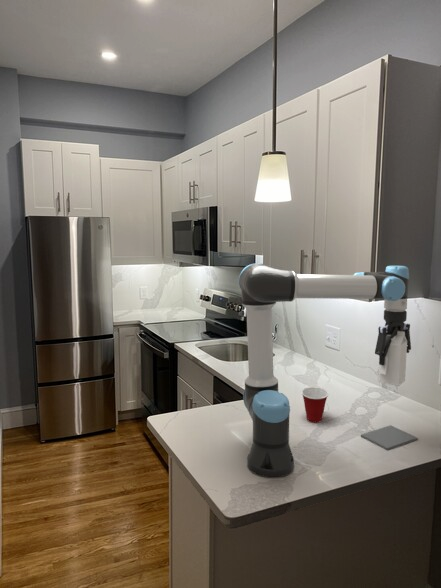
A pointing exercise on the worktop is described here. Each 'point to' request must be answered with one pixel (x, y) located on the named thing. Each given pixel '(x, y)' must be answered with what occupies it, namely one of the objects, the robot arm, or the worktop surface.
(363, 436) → the gray mat
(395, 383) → the milk carton
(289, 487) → the worktop surface
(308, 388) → the plastic cup
